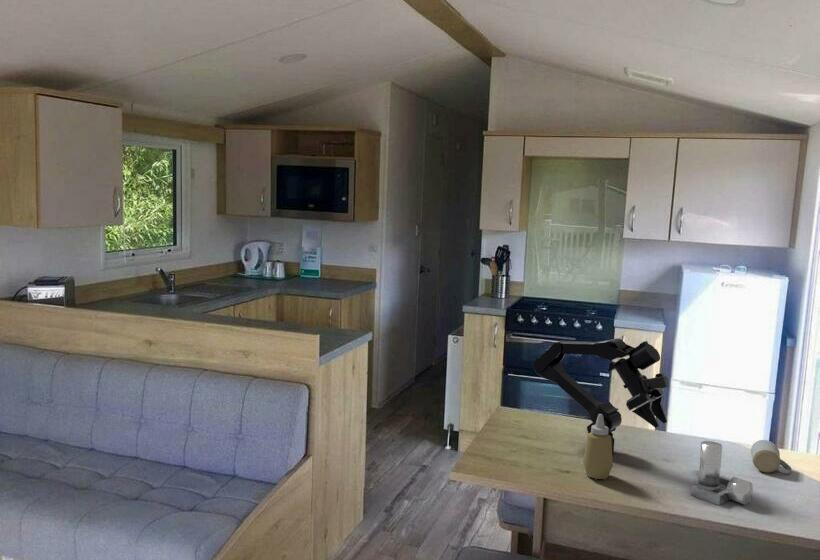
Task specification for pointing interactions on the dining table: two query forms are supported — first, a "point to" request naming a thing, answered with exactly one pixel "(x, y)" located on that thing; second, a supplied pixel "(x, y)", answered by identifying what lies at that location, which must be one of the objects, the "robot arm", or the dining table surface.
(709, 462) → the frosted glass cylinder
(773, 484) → the dining table surface
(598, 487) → the dining table surface
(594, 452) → the squeeze bottle
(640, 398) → the robot arm
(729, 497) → the duct saddle
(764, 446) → the ceramic mug
